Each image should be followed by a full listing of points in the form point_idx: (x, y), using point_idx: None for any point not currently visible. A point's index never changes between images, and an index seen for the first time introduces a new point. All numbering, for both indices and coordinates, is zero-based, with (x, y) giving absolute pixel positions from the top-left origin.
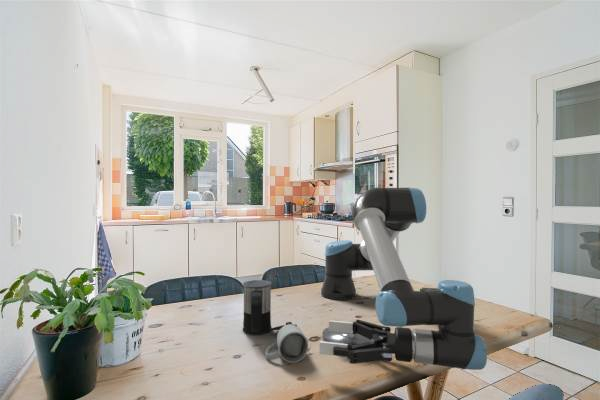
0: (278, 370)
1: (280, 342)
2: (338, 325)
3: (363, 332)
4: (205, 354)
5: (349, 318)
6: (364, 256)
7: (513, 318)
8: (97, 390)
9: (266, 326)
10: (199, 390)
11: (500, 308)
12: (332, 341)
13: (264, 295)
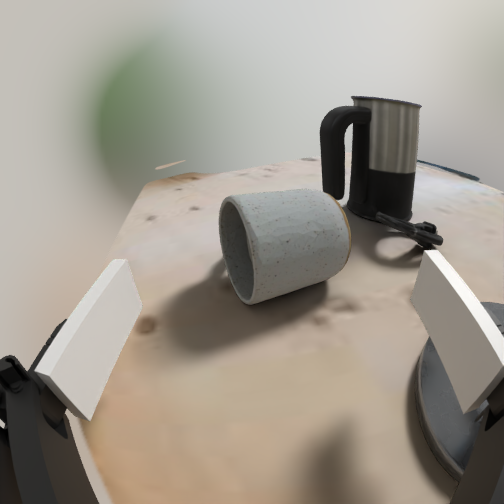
0: (190, 276)
1: (220, 215)
2: (445, 306)
3: (469, 491)
4: None
5: None
6: None
7: None
8: (152, 181)
9: (378, 205)
10: (133, 220)
11: None
12: (431, 354)
13: (377, 122)
